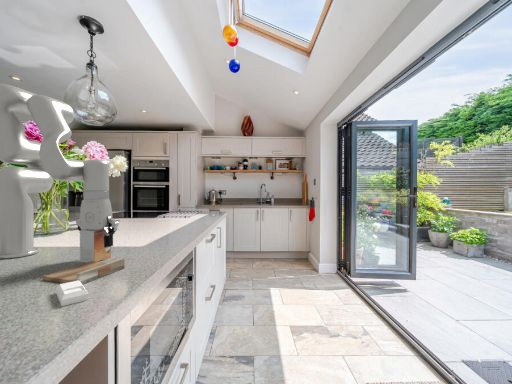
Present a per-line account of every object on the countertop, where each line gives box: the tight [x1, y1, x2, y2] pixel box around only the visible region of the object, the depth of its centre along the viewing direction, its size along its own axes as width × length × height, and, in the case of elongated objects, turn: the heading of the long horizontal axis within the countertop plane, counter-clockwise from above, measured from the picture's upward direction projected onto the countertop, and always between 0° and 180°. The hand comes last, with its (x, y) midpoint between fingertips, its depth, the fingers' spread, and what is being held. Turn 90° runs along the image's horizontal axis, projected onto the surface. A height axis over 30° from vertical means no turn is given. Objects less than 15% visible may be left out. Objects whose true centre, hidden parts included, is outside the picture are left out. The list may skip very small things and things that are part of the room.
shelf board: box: [42, 257, 125, 286], centre depth 76 cm, size 13×15×3 cm
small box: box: [79, 229, 112, 263], centre depth 90 cm, size 8×6×10 cm
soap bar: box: [55, 280, 90, 307], centre depth 60 cm, size 5×9×3 cm, turn 43°
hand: (97, 245), depth 90 cm, fingers open, 9 cm apart
